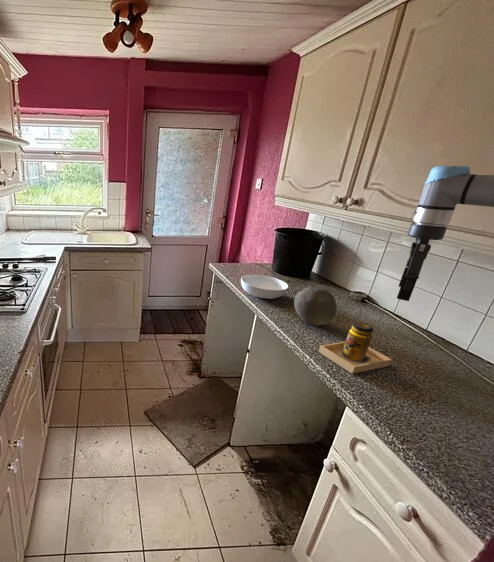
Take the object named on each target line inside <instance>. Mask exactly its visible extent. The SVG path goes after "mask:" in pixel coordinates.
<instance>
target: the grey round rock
mask: <svg viewBox="0 0 494 562" xmlns="http://www.w3.org/2000/svg"><path fill="white" fill-rule="evenodd" d="M293 306H294V310H295V313H296V314H297V315H298V317H299V318H300V319H302V320H303V321H304V322H306V323H308V324H309V325H313V326H324V325H328V324H329V323H330V322H331V321H332V320H333V318H334V317H335V315H336V313H337V310H338V309H337V306H338V305H337V302H336V299H335V297H334V295H333V294H332V293H331V292H329V291H328V290H326V289H324V288H321V287H316V286H314V287H313V286H311V287H306V288H304V289H302V290H301V291H299V292H298V293H297V294H296V295H295V297H294V300H293Z"/></svg>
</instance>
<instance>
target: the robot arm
mask: <svg viewBox="0 0 494 562" xmlns="http://www.w3.org/2000/svg"><path fill="white" fill-rule="evenodd" d="M457 205H463V206H464V205H468V206H479V207H489V208H490V207H491V208H494V174H474V173H471V167H470V166H468V165H437V166H434V167H433V168H431V170H430V172H429V174H428V176H427V178H426V181H425V182H424V186H423V189H422V192H421V195H420V199H419V201H418V205H417V207H416V209H415V210H412V211H411V212H412V213H411V214H413V218H412V221H413V222H412V223H411V224H410V226H409V228H408V232H407V236H408V237H410V238H415V241H412V243H411V246H410V251H409V257H408V259H407V261H406V264H405V267H404V270H403V273H402V275H401V278H400V281H399V283H398V287H399V291H398V293H397V295H396V299H397V300H401V301H405V302H409V301H410V299H411V297H412V294H413V291H414V289H415V287H416V283H417V281H418V279H419V278H420V273H421V271H422V267H423V266H424V262H425V260H426V259H427V257H428V254H429V252H430V251H431V248H432V244H431V243H430V241H441V240H444V237H445V235H446V232H447V229H448V228H447V226H448V225H449V224H450V223H451V220H452V217H453V215H454V212H455V209H456V207H457ZM429 243H430V244H429Z"/></svg>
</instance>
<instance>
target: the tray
mask: <svg viewBox="0 0 494 562" xmlns="http://www.w3.org/2000/svg"><path fill="white" fill-rule="evenodd" d="M345 342H346V340H344V341H340V342H334V343H328V344H322V345H320V346H319V349H318V353H319V354H321V355H323V356H324V357H325V358H327V359H329V360H330V361H332V362H333V363H335V364H336V365H338V366H339V367H341V368H342V369H344V370H345V371H347V372H348V373H350V374H359V373H364V372H368V371H371V370H376V369H377V370H378V369H382V368H387V367H390V366H391V364H392V361H393V359H392V358H391V357H388V356H387V355H386V354H383V353H381V352H380V351H377V350H376V349H374V348H373V347H370V346H369V347H368V350H367V352H366V355H367V356H370V357H372V358H371V359H369V360H368V361H367V362H366V363H364V364H361V365H359V364H357V363H354V362H352V361H350V360H347V359H345V358H343V357H341V356H339V355H337V354H338V353H339V352H341V351H342V350H343V348H344V345H345Z"/></svg>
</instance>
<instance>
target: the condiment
mask: <svg viewBox="0 0 494 562" xmlns="http://www.w3.org/2000/svg"><path fill="white" fill-rule="evenodd" d="M373 331H374V326H372V325H370V324H369V323H366V322H363V321H355V322H353V324H352V326H351V329H349V330H348V334H347V337H346V339H345V341H346V342H345V341H344V342H345V345H344V348H343V350H342V351H341V352H339V353H338V354H337V355H339V356H341V357H343V358H345V359H347V360H350V361H352V362H354V363H357V364H359V365H361V364H364V363H366V362H367V361H368V360H369V359H371V358H372V357H370V356H367V355H366V352H367V350H368V347H370V344H371V342H372V339H373Z"/></svg>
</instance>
